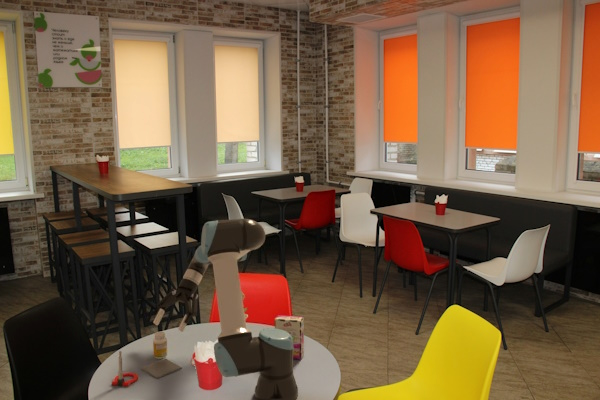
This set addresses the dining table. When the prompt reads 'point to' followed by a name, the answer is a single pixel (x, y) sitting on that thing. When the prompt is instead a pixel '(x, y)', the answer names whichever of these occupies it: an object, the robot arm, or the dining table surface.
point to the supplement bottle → (160, 345)
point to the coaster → (161, 368)
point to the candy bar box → (293, 332)
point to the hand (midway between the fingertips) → (167, 327)
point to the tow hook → (119, 379)
